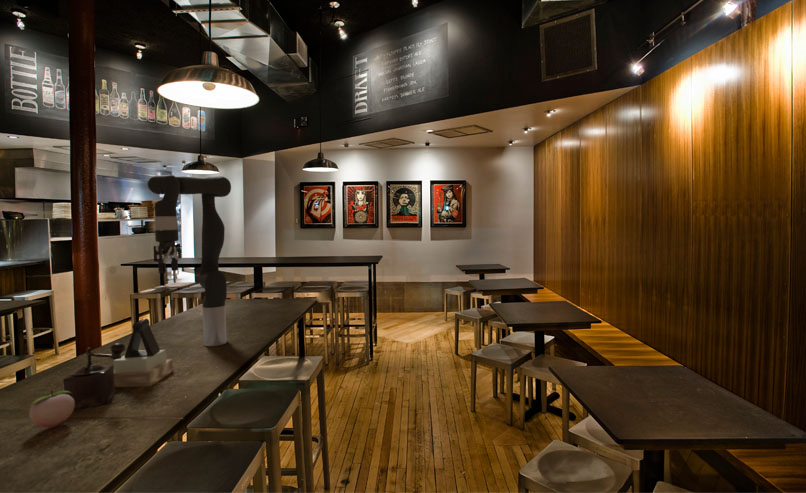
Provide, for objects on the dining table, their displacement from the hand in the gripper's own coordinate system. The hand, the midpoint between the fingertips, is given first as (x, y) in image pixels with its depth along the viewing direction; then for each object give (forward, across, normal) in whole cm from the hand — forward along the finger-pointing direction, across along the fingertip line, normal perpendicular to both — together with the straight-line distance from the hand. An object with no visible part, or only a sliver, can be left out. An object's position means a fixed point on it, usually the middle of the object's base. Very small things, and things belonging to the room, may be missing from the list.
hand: (168, 271), depth 153 cm
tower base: (+37, +13, -4) cm, 39 cm away
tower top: (+32, +13, -4) cm, 34 cm away
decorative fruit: (+36, +47, -6) cm, 60 cm away
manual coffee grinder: (+36, +30, -6) cm, 47 cm away
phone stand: (+28, +12, -4) cm, 30 cm away
